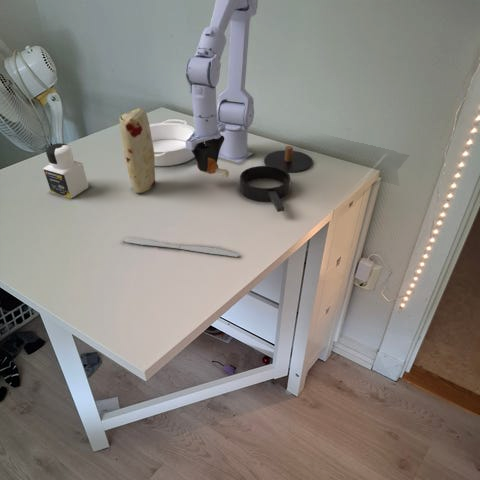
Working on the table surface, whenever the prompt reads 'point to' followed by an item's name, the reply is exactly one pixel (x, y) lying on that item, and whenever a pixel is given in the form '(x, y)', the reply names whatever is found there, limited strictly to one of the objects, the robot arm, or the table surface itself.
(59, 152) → the medicine bottle
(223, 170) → the drumstick
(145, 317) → the table surface
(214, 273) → the table surface
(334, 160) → the table surface
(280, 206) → the pan handle
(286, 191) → the pan
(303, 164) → the pan lid
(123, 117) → the food model
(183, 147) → the pot
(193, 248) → the butter knife
